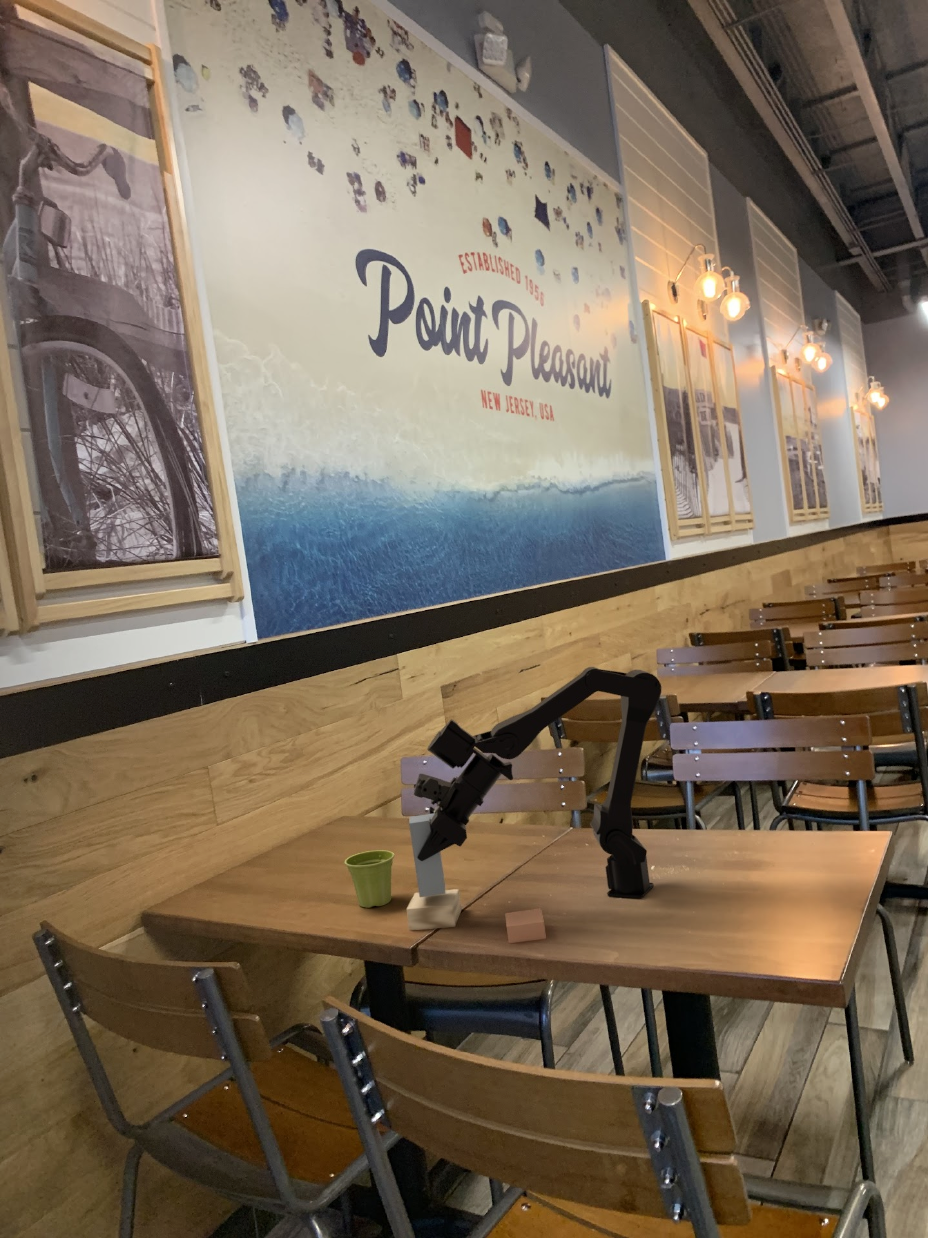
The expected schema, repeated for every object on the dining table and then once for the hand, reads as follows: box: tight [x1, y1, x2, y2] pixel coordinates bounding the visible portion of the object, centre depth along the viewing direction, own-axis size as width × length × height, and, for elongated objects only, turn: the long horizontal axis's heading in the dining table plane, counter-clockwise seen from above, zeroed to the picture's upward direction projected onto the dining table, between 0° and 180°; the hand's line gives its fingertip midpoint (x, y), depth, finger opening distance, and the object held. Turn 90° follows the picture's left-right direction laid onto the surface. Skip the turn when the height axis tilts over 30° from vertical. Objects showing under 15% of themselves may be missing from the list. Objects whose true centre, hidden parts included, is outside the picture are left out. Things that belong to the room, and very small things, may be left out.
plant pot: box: [344, 849, 395, 909], centre depth 175 cm, size 9×9×9 cm
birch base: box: [405, 888, 462, 931], centre depth 162 cm, size 8×8×4 cm
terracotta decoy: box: [504, 907, 547, 944], centre depth 150 cm, size 6×6×3 cm
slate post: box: [408, 813, 446, 897], centre depth 162 cm, size 4×4×13 cm
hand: (419, 855), depth 162 cm, fingers closed on slate post, 4 cm apart
